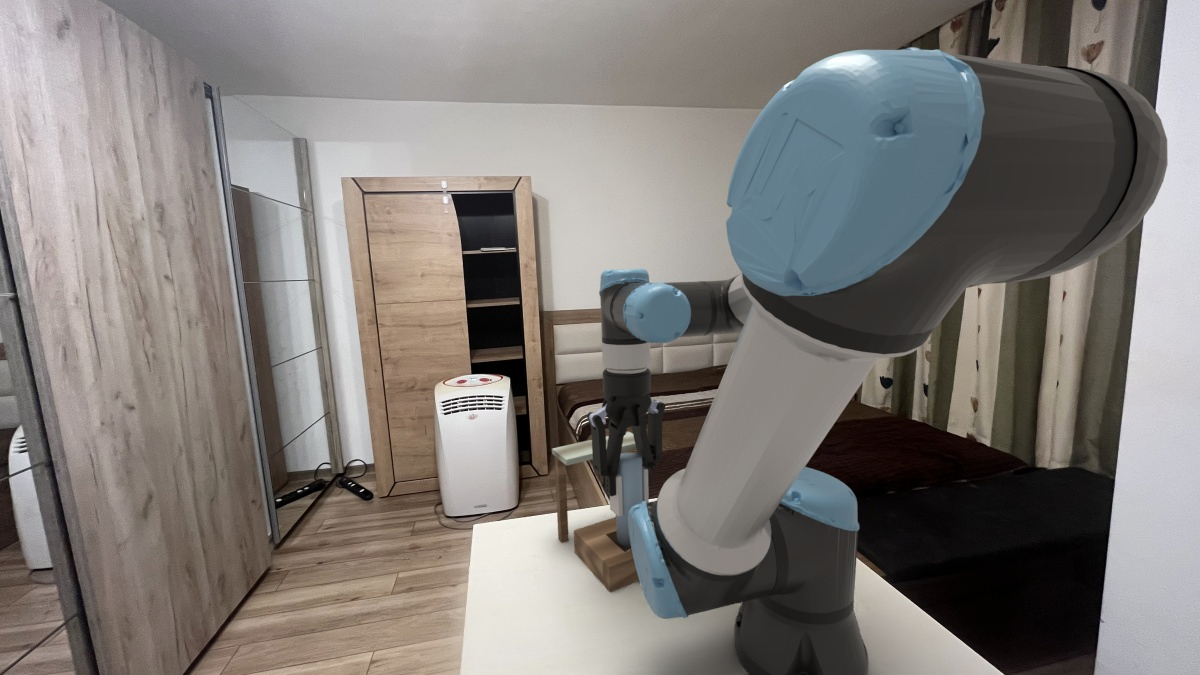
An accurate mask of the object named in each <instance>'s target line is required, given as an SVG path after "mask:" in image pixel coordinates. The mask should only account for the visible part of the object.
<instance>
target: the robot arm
mask: <svg viewBox="0 0 1200 675" xmlns="http://www.w3.org/2000/svg"><path fill="white" fill-rule="evenodd" d="M1164 128H1165V127H1164V125H1163V122H1162V119H1161V118H1160V115H1159V114H1158V113H1157V110H1155V109H1154V108H1153V106H1152V105H1151V103H1150V102H1149V100H1148V99H1147V97H1145V96H1144V95H1142V94H1141V93H1140V92H1138V91H1137V90H1135V88H1133V87H1132V86H1131V85H1129V84H1127V83H1125V82H1123V81H1121V80H1119V79H1117V78H1116V77H1113V76H1111V75H1109V74H1105V73H1103V72H1098V71H1096V70H1091V69H1088V68H1087V69H1086V68H1079V67H1072V66H1063V65H1062V66H1057V65H1055V66H1053V65H1052V66H1051V65H1050V66H1047V65H1037V64H1036V65H1034V64H1030V63H1029V64H1027V63H1021V62H1014V61H1006V60H998V59H991V58H986V57H985V58H984V57H979V56H969V55H964V54H963V55H962V54H956V53H949V52H945V51H942V50H941V49H933V50H931V49H921V48H919V47H914V46H912V47H911V46H910V47H907V48H904V49H857V50H855V49H854V50H849V51H844V52H840V53H836V54H832V55H830V56H827V57H825V58H823V59H821V60H819V61H817V62H814V63H813V64H812V65H810V66H808V67H807V68H805V69H803V71H801V73H800V74H799V75H798V76H797V77H796V78H795V79H793V80H791V81H789V82H788V83H786V84H784V85H783V86H782V87H781V88H780V89H779V90H778V91H777V92H776V93H775V94H774V96H772V98H771V99H770V100H769V101H768V103H767V104H766V105H765V107H764V108H763V109H762V110H761V112H760V113H759V115H758V116H757V117H756V120H754V122H753V124H752V125H751V128H750V129H749V132H748V133H747V134H746V137H745V138H744V141H743V144H742V146H741V148H740V150H739V153H738V155H737V157H736V160H735V163H734V167H733V169H732V173H731V176H730V181H729V186H728V191H727V200H726V205H727V206H728V207H729V208H731V213H730V215H729V217H728V218H727V220H726V222H725V226H726V237H727V242H728V244H729V248H730V252H731V255H732V258H733V260H734V262H735V263H736V265H737V267H738V269H739V270H740V273H739V274H737V275H735V276H733V277H731V278H728V279H722V280H707V281H705V280H702V281H700V280H699V281H677V282H676V281H675V282H672V281H671V282H650V276H649V275H650V274H649V272H648V270H646V269H645V268H628V269H627V268H626V269H624V268H622V269H621V268H620V269H605V270H604V271H602V272H601V274H600V280H599V281H600V284H599V285H600V286H599V287H600V288H599V292H598V294H599V298H600V299H599V300H600V323H601V326H600V327H601V329H600V330H601V349H602V350H601V354H602V356H601V358H602V366H603V367H604V368H605V369H604V370H603V371H602V391H603V396H604V399H603V402H602V404H601V408H599V409H598V410H596V411H595V412H592V411H590V412H588V413H587V414H586V418H587V420H588V422H589V423H588V424H589V425H590V430H591V431H590V432H591V433H590V434H591V440H592V453H593V459H592V467H593V471H594V472H596V473H597V474H598V475H600V477H603V478H604V484H605V485H604V488H605V493H606V494H607V495H608V496H609V508H610V509H609V510H610V511H612V513H614V514H615V516H616V515H617V516H623V501H622V476H620V475H619V474H618V468H619V462H620V456H621V453H622V452H621V450H622V444H623V437H624V435H625V434H626V432H628V431H627V430H628V428H631V431H632V433H633V436H634V440H635V445H636V449H635V450H636V454H639V455H640V456H641V457H642V487H643V501H642V503H640V504H636V505H634V506H632V507H631V509H630V511H629V514H628V528H629V536H630V543H631V548H630V549H631V550H632V553H633V558H634V562H635V566H636V570H637V574H638V577H639V580H638V581H639V584H640V587H641V591H642V593H643V596H644V598H645V600H646V602H647V604H648V606H649V609H651V611H652V612H653V614H655V616H657V617H658V618H660V619H664V620H665V619H666V620H669V619H678V618H684V619H686V618H689V616H691V615H695V614H699V613H703V612H707V611H712V610H716V609H719V608H724V607H729V606H732V605H736V604H740V606H739V609H738V611H737V614H736V617H735V620H734V630H733V646H734V651H735V653H736V654H735V655H736V657H737V659H738V661H739V663H740V664H741V666H742V667H743V669H744V670H745V671H746V673H747V674H748V675H869V664H870V663H869V655H868V650H867V646H866V645H865V642H864V639H863V637H862V634H861V629H860V626H859V622H858V620H857V616H856V613H855V609H854V608H855V606H854V604H855V602H854V601H855V587H856V585H855V584H856V572H857V570H856V569H857V558H858V557H857V554H858V540H859V538H858V536H859V530H860V523H859V522H858V501H857V500H858V499H857V497H856V495H855V493H854V492H853V490H852V489H851V488H850V487H849V486H848V485H846V483H844V482H843V481H841V480H840V479H839V478H836V477H834V476H832V475H830V474H828V473H825V472H822V471H820V470H818V469H814V468H810V467H808V466H807V464H808V463H809V461H810V460H811V459H812V457H813V456H814V454H815V453H816V451H817V449H818V448H819V447H820V445H821V444H822V442H823V441H824V439H825V438H826V437H827V435H828V433H829V432H830V430H831V429H832V428H833V426H834V424H835V423H836V421H837V420H838V419H839V417H840V416H841V414H842V413H843V411H844V410H845V409H846V407H847V405H848V404H849V402H850V401H851V400H852V398H853V397H854V396H855V394H856V392H857V391H858V389H859V388H860V386H861V385H862V383H863V382H864V380H865V379H866V378H867V377H868V375H869V374H870V372H871V370H872V369H873V368H874V366H875V365H876V363H877V362H878V360H879V359H889V358H891V359H892V358H899V357H903V356H904V357H905V356H906V355H910V354H913V353H914V352H915V351H917V350H918V349H920V348H921V347H922V346H923V345H924V344H925V343H926V341H928V339H929V337H930V336H931V334H932V333H933V332H934V330H935V329H936V328H937V326H939V325H940V324H941V322H942V320H943V319H944V318H945V316H946V315H947V314H948V312H950V310H951V309H952V307H953V306H954V305H955V303H956V302H957V300H958V299H959V298H960V296H961V295H962V294H963V293H964V291H965V290H966V289H967V288H972V287H978V286H980V285H981V286H982V285H988V284H990V285H992V284H1005V283H1017V282H1024V281H1030V280H1031V281H1032V280H1038V279H1043V278H1047V277H1051V276H1055V275H1059V274H1062V273H1065V272H1068V271H1071V270H1073V269H1076V268H1078V267H1080V266H1082V265H1085V264H1086V263H1088V262H1091V261H1092V260H1094V259H1097V258H1098V257H1099V256H1101V255H1102V254H1104V253H1106V252H1107V251H1109V250H1110V249H1112V248H1113V247H1115V246H1116V245H1118V244H1119V243H1120V242H1121V241H1122V240H1123V239H1125V237H1127V236H1128V235H1129V234H1130V233H1131V232H1132V230H1134V229H1135V228H1136V227H1137V226H1138V225H1139V224H1140V223H1141V222H1142V220H1143V218H1145V215H1146V214H1148V211H1150V209H1151V207H1152V206H1153V204H1154V203H1155V201H1156V199H1157V197H1158V194H1159V193H1160V189H1161V188H1162V185H1163V183H1164V180H1165V175H1166V173H1167V168H1168V160H1169V159H1168V137H1167V134H1166V132H1165V129H1164ZM730 334H731V335H732V334H734V335H735V334H739V336H738V339H737V341H736V344H735V346H734V349H733V351H732V354H731V356H730V359H729V361H728V364H727V365H726V368H725V371H724V373H723V376H722V379H721V380H720V383H719V385H718V388H717V391H716V392H715V395H714V398H713V400H712V402H711V405H710V407H709V409H708V410H709V411H708V413H707V415H706V417H705V420H704V422H703V425H702V427H701V429H700V432H699V435H698V438H697V439H696V442H695V445H694V447H693V450H692V452H691V455H690V457H689V460H688V462H687V464H686V467H685V468H683V469H680V470H678V471H676V472H675V473H673V474H672V475H671V476H669V478H668V479H667V480H665V482H664V483H663V485H662V487H661V489H660V491H659V494H658V496H657V498H656V500H654V501H649V486H650V485H652V482H653V479H652V475H653V473H652V472H653V470H655V469H656V467H657V464H656V462H661V461H662V459H663V417H664V414H665V410H666V403H665V402H662V401H659V400H656V399H652V397H651V395H650V392H651V389H652V383H651V382H652V380H651V379H652V377H651V376H652V374H651V370H650V369H649V368H650V366H651V363H652V362H651V360H652V359H651V344H654V343H655V344H668V343H671V342H673V341H675V340H677V339H679V338H692V337H693V338H694V337H702V336H711V335H712V336H713V335H715V336H716V335H730ZM646 415H647V418H646ZM606 417H607V418H608V420H609V423H608V427H607V428H608V436H609V437H608V443H607V450H606V436H607V435H606V434H607V433H606V426H605V425H606V424H607V422H606V421H607V420H606ZM646 419H647V420H646Z"/></svg>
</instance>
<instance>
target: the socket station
mask: <svg viewBox="0 0 1200 675" xmlns="http://www.w3.org/2000/svg"><path fill="white" fill-rule="evenodd" d="M608 437H609V435H606V450H607V443H608ZM633 450H637V449H636V445H635V440H634V436H633V432H630V431H626V434H625V435H624V437H623V444H622V450H621V453H634V452H633ZM551 454H552V455H553V456H554V474H555V491H556V492H555V494H556V495H555V497H556V498H555V499H556V517H557V535H558V536H557V537H558V538H557V539H558V540H559V541H560V543H565V542H569V520H568V517H569V515H568V514H569V513H568V496H567V495H568V493H567V492H568V491H567V472H566V470H567V469H566V468H567V467H566V466H571V465H575V464H579V463H584V462H588V461H591V460H592V461H593V453H592V439H589V440H584V441H579V442H576V443H572V444H567V445H563V446H557V447H554V448H551ZM573 546H574V554H576V555H577V557H578V558H579V559H580V560H581V561H582V562H583V564H584V565H585V566H586V567H587V568H588V570H590V571H591V573H592V574H593V575H594V576H595V577H596V579H598V580H599V582H600V583H601V584H602V585H603V586H604V587H605V589H607V591H608V592H609V593H612V592H613V591H616V590H618V589H621V588H623V587H626V586H628V585H631V584H634V583H635V582H638V581H639V577H638V574H637V570H636V566H635V562H634V558H633V553H632V548H631V546H624V545H621V544H620V543H618V541H617V529H616V516H615V517H610V518H608V519H605V520H602V521H599V522H595V523H592V524H590V525H585V526H583V527H580V528H576V529H574V530H573ZM628 549H630V550H628ZM627 550H628V551H627Z"/></svg>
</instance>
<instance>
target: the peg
mask: <svg viewBox="0 0 1200 675" xmlns="http://www.w3.org/2000/svg"><path fill="white" fill-rule="evenodd" d="M618 474H619V475H620V476H622V501H623V516H617V515H616V514H615V517H616V529H617V541H618V543H620V544H621V545H624V546H631V543H630V536H629V528H628V514H629V511H630V509H631V507H632V506H634V505H636V504H640V503H642V501H643V487H642V457H641V456H640V455H639V454H637V452H636V453H635V452H633V453H622V452H621V456H620V462H619V468H618Z"/></svg>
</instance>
